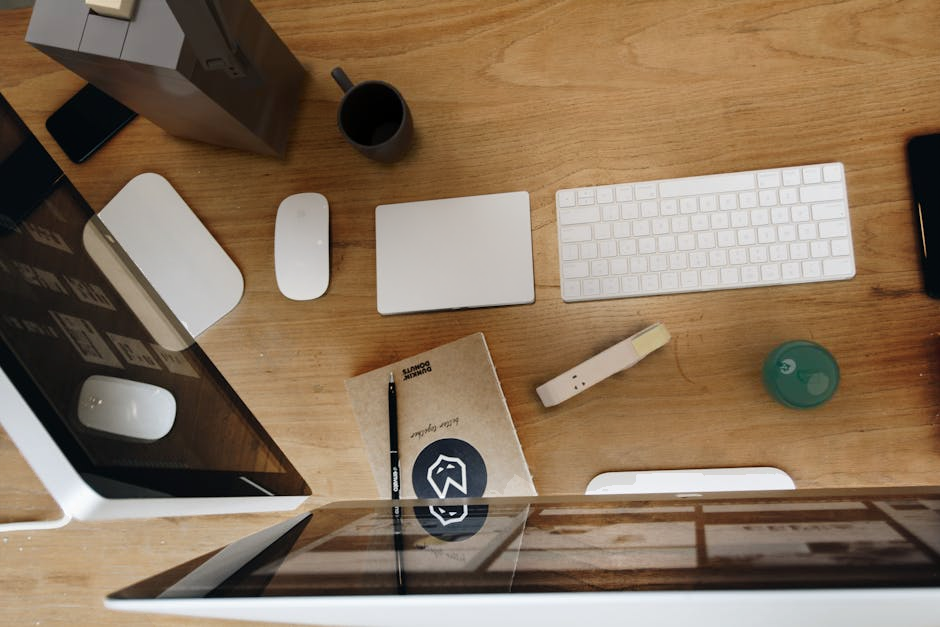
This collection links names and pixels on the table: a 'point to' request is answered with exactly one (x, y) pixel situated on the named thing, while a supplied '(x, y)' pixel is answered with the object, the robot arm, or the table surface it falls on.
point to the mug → (374, 119)
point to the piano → (176, 70)
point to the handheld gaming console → (603, 365)
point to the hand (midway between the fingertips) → (251, 37)
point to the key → (113, 8)
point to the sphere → (800, 375)
